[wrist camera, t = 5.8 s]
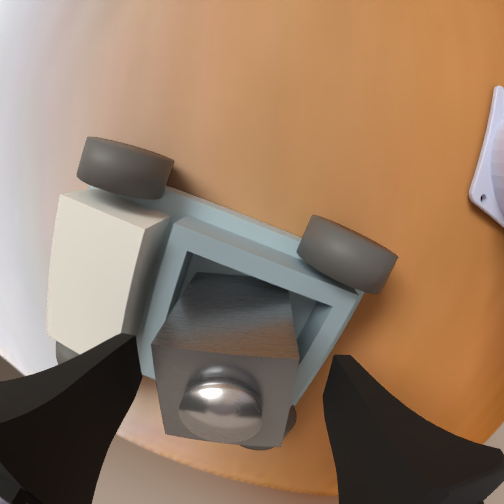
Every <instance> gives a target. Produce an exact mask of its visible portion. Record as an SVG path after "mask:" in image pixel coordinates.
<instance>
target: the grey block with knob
mask: <svg viewBox="0 0 504 504" xmlns="http://www.w3.org/2000/svg"><path fill="white" fill-rule="evenodd" d="M151 350H152V358H153V365H154V372H155V379H156V385H157V391H158V397H159V403H160V409H161V414H162V419H163V424H164V429H165V434H168V435H173V436H178V437H184V438H190V439H196V440H203V441H210V442H217V443H227V444H237V445H249V446H266V447H281V444H282V440H283V436H284V432H285V427H286V423H287V419H288V414H289V410H290V405H291V400H292V396H293V391H294V386H295V381H296V376H297V371H298V366H299V360H300V358H299V351H298V345H297V339H296V333H295V327H294V321H293V315H292V309H291V304H290V298H289V292H288V290H287V289H285V288H282V287H279V286H277V285H274V284H271V283H269V282H266V281H263V280H261V279H258V278H256V277H253V276H241V275H229V274H217V273H205V272H196V274H195V275H194V277H193V278H192V280H191V282H190V283H189V285H188V286H187V288H186V289H185V291H184V292H183V294H182V295H181V297H180V298H179V300H178V302H177V303H176V305H175V306H174V308H173V309H172V311H171V313H170V314H169V316H168V317H167V319H166V320H165V322H164V324H163V325H162V327H161V328H160V330H159V332H158V333H157V335H156V336H155V338H154V340H153V341H152V343H151Z"/></svg>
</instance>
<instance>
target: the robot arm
mask: <svg viewBox="0 0 504 504" xmlns="http://www.w3.org/2000/svg"><path fill="white" fill-rule="evenodd" d="M481 196H482V201H481ZM469 198H470V200H471V202H472V203H474V204H475V205H476V206H478V207H479V208H480V209H481V210H483V211H484V212H485V213H486V214H488V215H489V216H490V217H491V218H493V219H494V220H495V221H496V222H497V223H499V224H500V225H501V226H502V227H503V228H504V88H503V87H502V86H496V87H495V88H494V92H493V98H492V104H491V110H490V115H489V120H488V124H487V129H486V133H485V137H484V142H483V145H482V149H481V153H480V157H479V160H478V164H477V167H476V171H475V174H474V177H473V180H472V183H471V186H470V189H469ZM141 380H142V373H141V367H140V361H139V355H138V348H137V341H136V335H130V334H125V333H120V334H118V335H116V336H114V337H112V338H110V339H108V340H106V341H104V342H102V343H101V344H99V345H97V346H95V347H93V348H91V349H89V350H88V351H86V352H84V353H82V354H80V355H78V356H76V357H74V358H72V359H70V360H68V361H66V362H63V363H61V364H59V365H57V366H55V367H52V368H50V369H47V370H44V371H41V372H38V373H36V374H32V375H29V376H25V377H21V378H17V379H13V380H8V381H2V382H0V504H92V500H93V496H94V491H95V488H96V484H97V481H98V477H99V474H100V471H101V467H102V465H103V462H104V459H105V456H106V453H107V451H108V448H109V446H110V444H111V441H112V439H113V438H114V436H115V434H116V432H117V430H118V428H119V427H120V425H121V423H122V421H123V419H124V417H125V415H126V414H127V412H128V410H129V408H130V406H131V404H132V402H133V401H134V399H135V396H136V394H137V391H138V388H139V385H140V383H141ZM323 405H324V415H325V422H326V426H327V431H328V435H329V439H330V444H331V448H332V452H333V457H334V461H335V466H336V472H337V480H338V493H339V504H484V502H483V500H484V499H486V498H487V496H489V495H490V494H491V493H492V492H493V491H494V490H495V489H496V488H497V487H498V486H499V485H500V484H501V483H502V482H503V481H504V454H503V453H502V451H501V450H500V449H497V448H493V447H490V446H486V445H482V444H478V443H475V442H472V441H469V440H467V439H464V438H461V437H459V436H456V435H454V434H452V433H450V432H448V431H446V430H444V429H442V428H440V427H438V426H436V425H434V424H432V423H431V422H429V421H427V420H425V419H424V418H422V417H421V416H419V415H418V414H416V413H415V412H413V411H412V410H410V409H409V408H408V407H406V406H405V405H404V404H403V403H401V402H400V401H399V400H398V399H396V398H395V397H394V396H393V395H392V394H390V393H389V392H388V391H387V390H386V389H385V388H384V387H383V386H381V385H380V384H379V383H378V382H377V381H376V380H375V379H374V378H373V377H372V376H371V375H370V374H369V373H368V372H367V371H366V370H365V369H364V368H363V367H362V366H361V365H360V364H359V363H358V362H357V361H356V360H355V359H354V358H353V357H352V356H351V355H334V357H333V361H332V364H331V368H330V372H329V376H328V379H327V383H326V386H325V390H324V393H323Z"/></svg>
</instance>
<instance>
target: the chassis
mask: <svg viewBox="0 0 504 504" xmlns="http://www.w3.org/2000/svg"><path fill="white" fill-rule="evenodd" d="M173 164H174V160H172V159H170V158H168V157H165V156H163V155H160V154H157V153H154V152H152V151H148V150H145V149H142V148H139V147H135V146H132V145H128V144H125V143H121V142H117V141H112V140H108V139H103V138H97V137H87V140H86V143H85V146H84V149H83V153H82V156H81V160H80V164H79V167H78V171H77V177H78V178H79V179H80V180H81V181H83V182H85V183H87V184H89V185H90V187H89V189H86V190H80V191H74V192H69V193H63V194H60V198H59V203H58V208H57V214H56V220H55V226H54V233H53V240H52V248H51V257H50V267H49V279H48V296H47V335H48V336H50V337H51V338H53V339H55V340H56V358H57V362H58V364H61V363H63V362H66V361H68V360H70V359H72V358H74V357H76V356H78V355H80V354H82V353H84V352H86V351H88V350H89V349H91V348H93V347H95V346H97V345H99V344H101V343H102V342H104V341H106V340H108V339H110V338H112V337H114V336H116V335H118V334H120V333H125V334H130V335H136V341H137V348H138V355H139V361H140V367H141V373H142V374H143V375H145V376H147V377H150V378H152V379H154V380H156V379H155V372H154V365H153V358H152V350H151V343H152V341H153V340H154V338H155V336H156V335H157V333H158V332H159V330H160V328H161V327H162V325H163V324H164V322H165V320H166V319H167V317H168V316H169V314H170V313H171V311H172V309H173V308H174V306H175V305H176V303H177V302H178V300H179V298H180V297H181V295H182V294H183V292H184V291H185V289H186V288H187V286H188V285H189V283H190V282H191V280H192V278H193V277H194V275H195V274H196V272H205V273H217V274H229V275H241V276H253V277H256V278H258V279H261V280H263V281H266V282H269V283H271V284H274V285H277V286H279V287H282V288H285V289H287V290H288V292H289V298H290V304H291V309H292V315H293V321H294V327H295V333H296V339H297V345H298V351H299V358H300V360H299V366H298V371H297V376H296V381H295V386H294V391H293V396H292V400H291V405H290V410H289V414H288V419H287V423H286V427H285V432H284V436H283V439H284V437H285V436H286V435H287V434H288V432H289V431H290V430H291V429H292V427H293V426H294V424H295V422H296V411H295V408H294V407H295V405H296V404H297V402H298V401H299V400H300V398H301V397H302V395H303V394H304V392H305V391H306V389H307V388H308V386H309V385H310V383H311V382H312V380H313V379H314V377H315V376H316V374H317V373H318V371H319V370H320V368H321V367H322V365H323V364H324V362H325V360H326V359H327V357H328V356H329V354H330V352H331V351H332V349H333V348H334V346H335V344H336V343H337V341H338V339H339V338H340V336H341V334H342V333H343V331H344V329H345V327H346V326H347V324H348V322H349V320H350V319H351V317H352V315H353V313H354V312H355V310H356V308H357V306H358V304H359V302H360V301H361V299H362V297H363V295H364V293H365V292H366V293H371V294H379V293H380V292H381V290H382V288H383V287H384V285H385V283H386V281H387V279H388V277H389V275H390V273H391V271H392V269H393V267H394V265H395V263H396V261H397V259H398V256H397V255H396V254H394V253H393V252H391V251H390V250H388V249H387V248H385V247H383V246H382V245H380V244H378V243H376V242H375V241H373V240H371V239H369V238H367V237H365V236H363V235H361V234H359V233H357V232H355V231H353V230H351V229H349V228H347V227H344V226H342V225H340V224H338V223H335V222H333V221H330V220H328V219H325V218H323V217H320V216H316V215H312V216H311V219H310V221H309V223H308V226H307V228H306V230H305V232H304V235H303V237H302V238H301V237H298V236H296V235H293V234H291V233H289V232H286V231H284V230H281V229H279V228H276V227H274V226H271V225H269V224H266V223H264V222H261V221H259V220H256V219H254V218H251V217H249V216H246V215H243V214H241V213H238V212H236V211H233V210H231V209H228V208H225V207H223V206H220V205H218V204H215V203H212V202H210V201H207V200H205V199H202V198H199V197H197V196H194V195H191V194H189V193H186V192H183V191H181V190H178V189H175V188H172V187H170V186H167V185H166V184H167V181H168V178H169V175H170V173H171V170H172V167H173ZM240 446H242V447H245V448H248V449H252V450H268V449H272V448H274V447H266V446H249V445H240Z"/></svg>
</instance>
